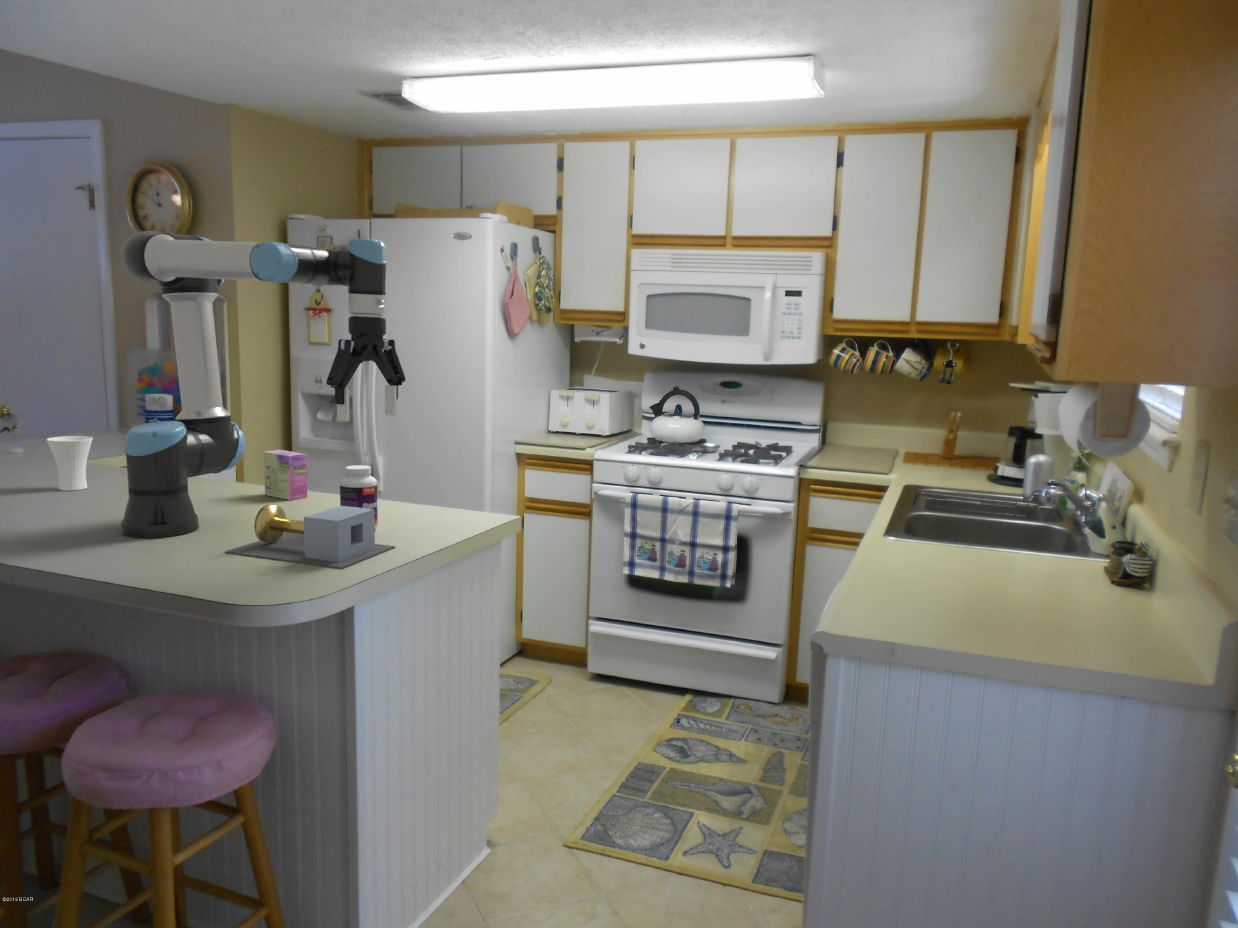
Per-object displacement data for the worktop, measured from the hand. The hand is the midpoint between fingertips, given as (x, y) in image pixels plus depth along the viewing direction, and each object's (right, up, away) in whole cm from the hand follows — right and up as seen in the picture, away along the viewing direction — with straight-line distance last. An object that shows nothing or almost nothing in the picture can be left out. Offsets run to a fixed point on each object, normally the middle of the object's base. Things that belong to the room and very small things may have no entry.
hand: (367, 417), depth 189 cm
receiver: (-3, -28, -7) cm, 29 cm away
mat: (-10, -27, -5) cm, 30 cm away
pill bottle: (-6, -25, +14) cm, 29 cm away
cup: (-92, -17, +50) cm, 106 cm away
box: (-35, -19, +48) cm, 62 cm away
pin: (-12, -27, -4) cm, 30 cm away
